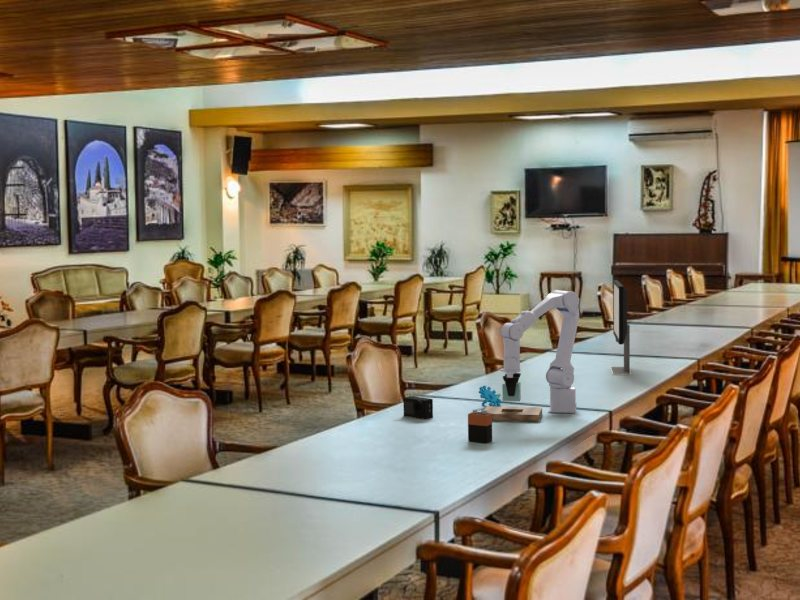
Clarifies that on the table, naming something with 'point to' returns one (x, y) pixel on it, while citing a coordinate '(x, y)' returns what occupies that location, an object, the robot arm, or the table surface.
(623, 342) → the computer monitor
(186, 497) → the table surface
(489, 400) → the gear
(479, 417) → the battery
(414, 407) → the digital camera
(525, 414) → the keyed socket
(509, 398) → the teal striped block
